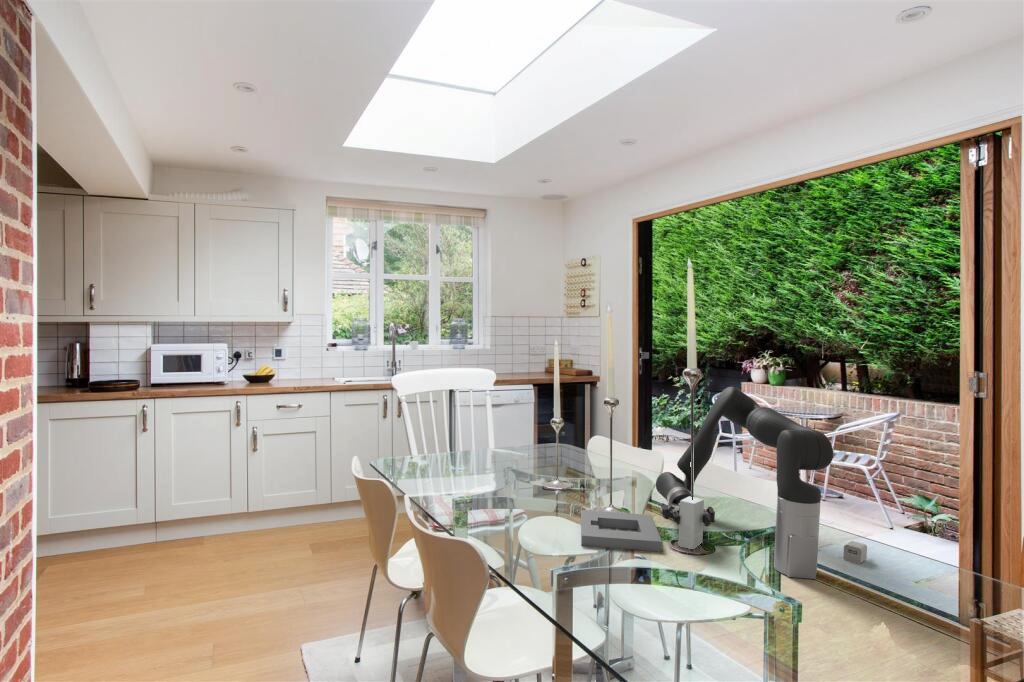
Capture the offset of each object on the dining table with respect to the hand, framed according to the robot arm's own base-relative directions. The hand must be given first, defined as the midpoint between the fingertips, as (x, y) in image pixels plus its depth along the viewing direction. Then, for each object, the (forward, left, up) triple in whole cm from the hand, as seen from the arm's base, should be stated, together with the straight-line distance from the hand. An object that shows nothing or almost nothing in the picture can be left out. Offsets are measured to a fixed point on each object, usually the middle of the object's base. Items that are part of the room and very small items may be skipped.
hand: (693, 521), depth 157 cm
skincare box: (+2, 0, -7) cm, 8 cm away
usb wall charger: (+2, -41, -7) cm, 41 cm away
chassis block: (+7, +18, -7) cm, 21 cm away
